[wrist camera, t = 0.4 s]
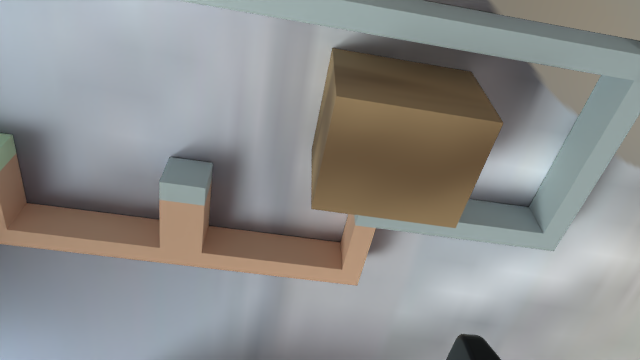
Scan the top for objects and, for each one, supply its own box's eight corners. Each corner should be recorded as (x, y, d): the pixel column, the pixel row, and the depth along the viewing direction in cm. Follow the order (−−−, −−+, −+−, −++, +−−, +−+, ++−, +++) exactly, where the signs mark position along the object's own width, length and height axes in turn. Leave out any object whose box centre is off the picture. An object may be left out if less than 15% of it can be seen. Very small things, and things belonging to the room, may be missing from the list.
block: (434, 166, 24) (455, 228, 20) (311, 148, 23) (311, 209, 20) (470, 70, 21) (503, 123, 17) (332, 46, 20) (336, 96, 17)
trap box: (508, 276, 28) (523, 312, 26) (-54, 207, 25) (-87, 242, 23) (644, 41, 20) (681, 66, 18) (-159, -108, 17) (-223, -99, 15)
